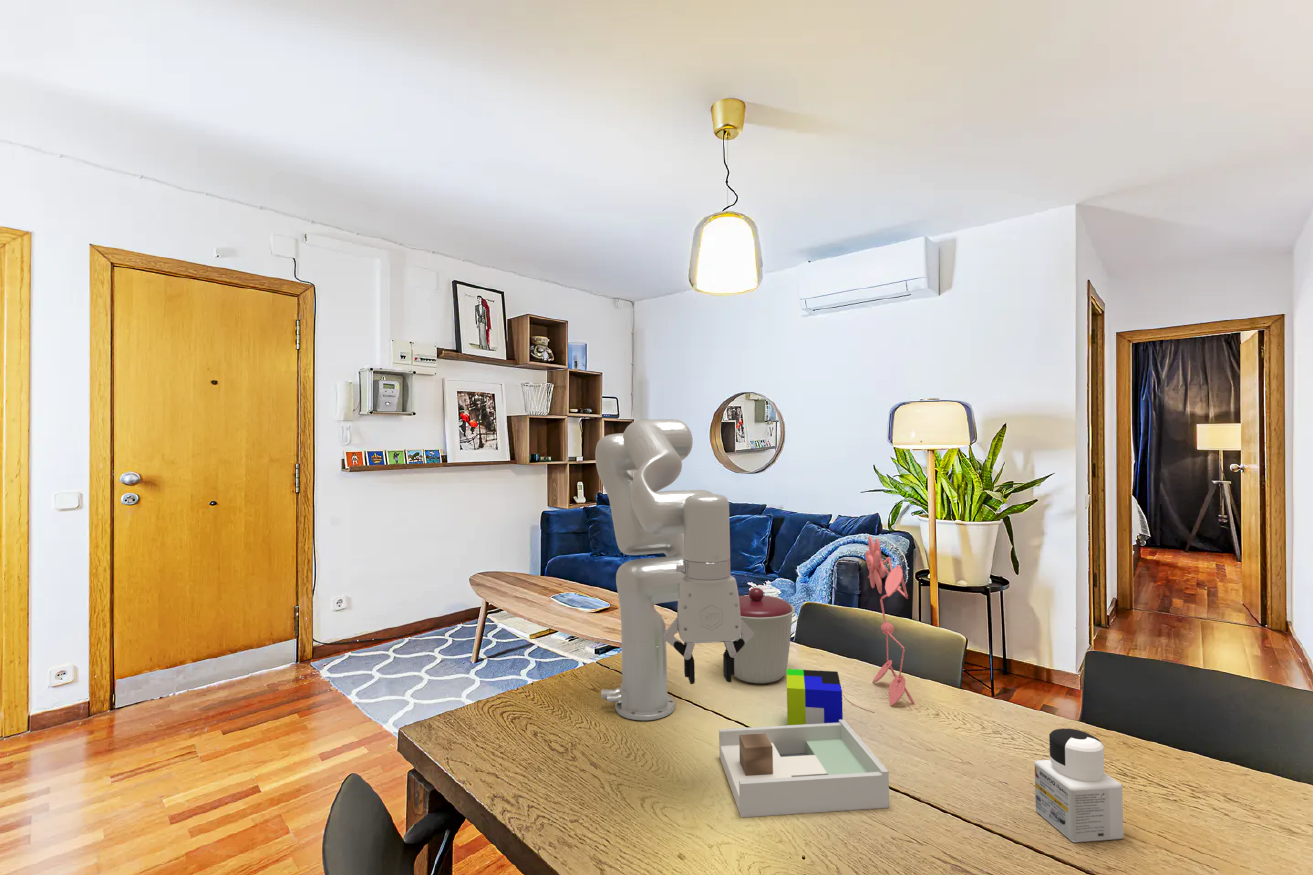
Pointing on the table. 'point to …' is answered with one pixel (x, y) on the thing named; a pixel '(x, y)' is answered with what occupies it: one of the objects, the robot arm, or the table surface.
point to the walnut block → (756, 754)
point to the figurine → (887, 628)
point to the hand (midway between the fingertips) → (709, 678)
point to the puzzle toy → (813, 697)
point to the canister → (764, 638)
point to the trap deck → (806, 771)
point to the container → (1078, 789)
